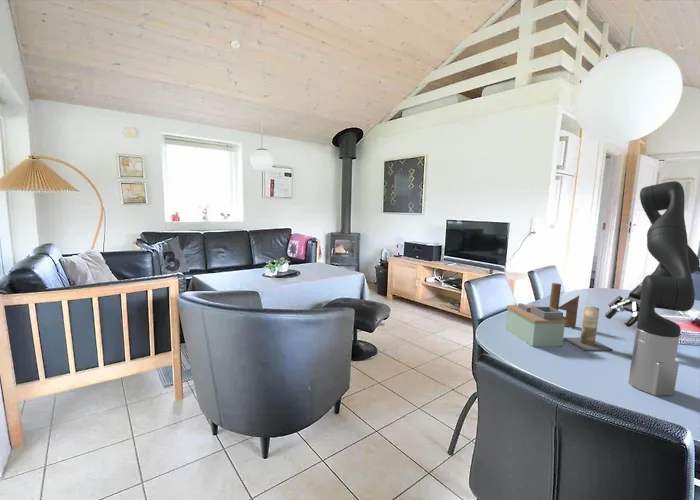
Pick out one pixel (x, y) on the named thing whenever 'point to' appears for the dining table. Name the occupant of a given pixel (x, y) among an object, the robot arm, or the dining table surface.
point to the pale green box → (536, 324)
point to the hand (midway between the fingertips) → (616, 321)
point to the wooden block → (564, 305)
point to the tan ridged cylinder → (589, 325)
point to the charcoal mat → (584, 347)
